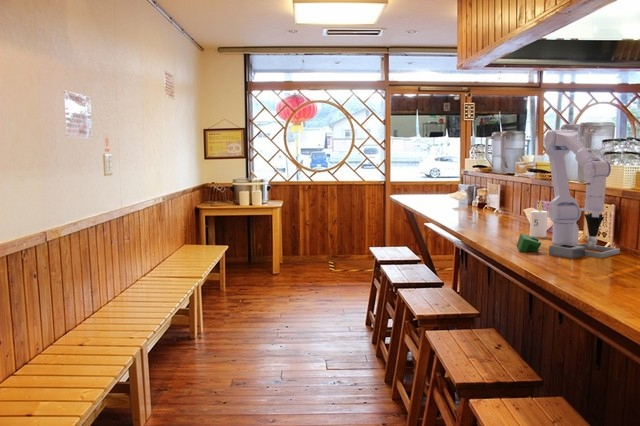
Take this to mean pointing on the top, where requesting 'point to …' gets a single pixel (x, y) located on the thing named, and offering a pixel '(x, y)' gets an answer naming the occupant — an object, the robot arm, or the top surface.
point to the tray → (607, 250)
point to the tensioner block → (567, 250)
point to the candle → (538, 222)
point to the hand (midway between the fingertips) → (592, 235)
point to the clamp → (528, 243)
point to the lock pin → (591, 241)
